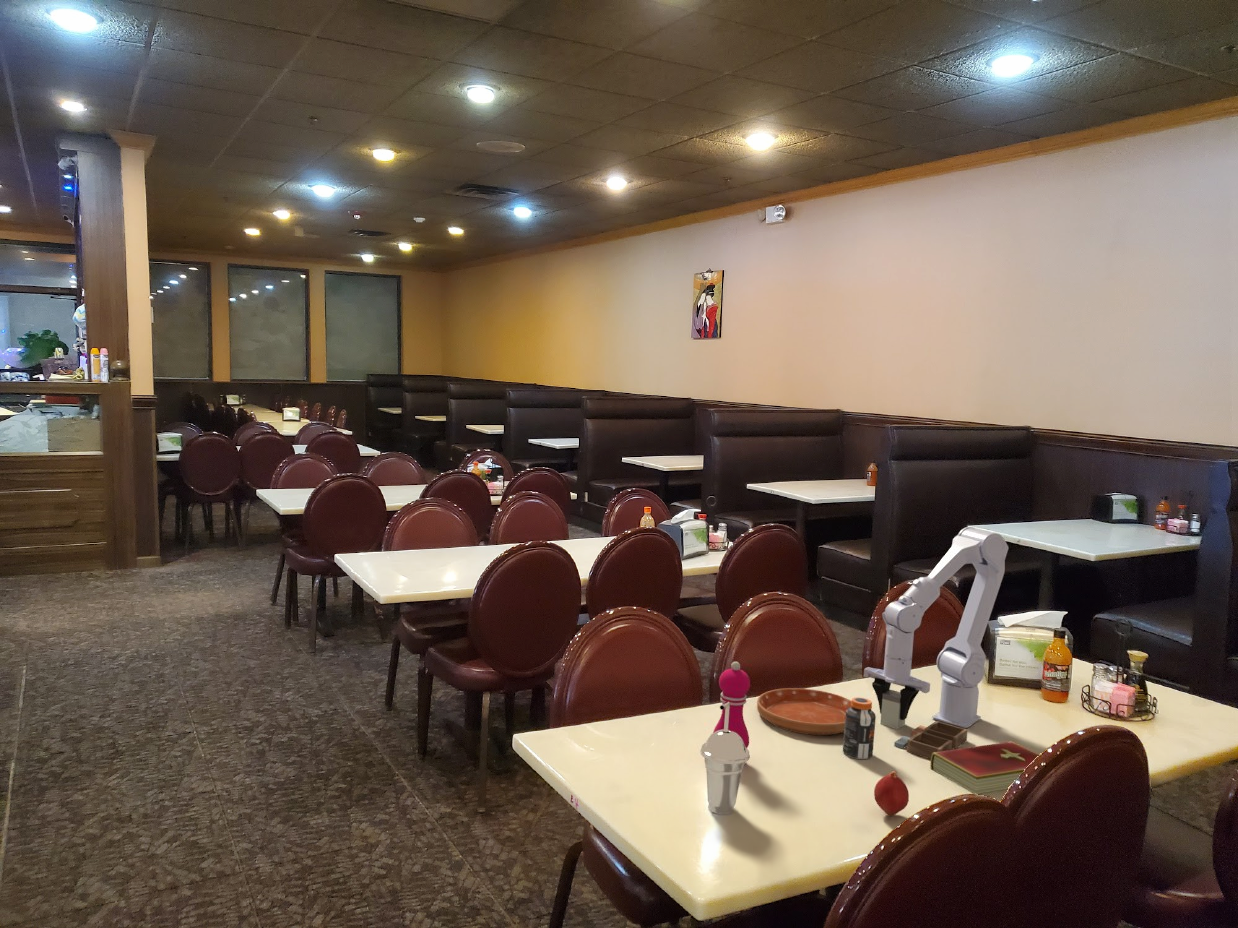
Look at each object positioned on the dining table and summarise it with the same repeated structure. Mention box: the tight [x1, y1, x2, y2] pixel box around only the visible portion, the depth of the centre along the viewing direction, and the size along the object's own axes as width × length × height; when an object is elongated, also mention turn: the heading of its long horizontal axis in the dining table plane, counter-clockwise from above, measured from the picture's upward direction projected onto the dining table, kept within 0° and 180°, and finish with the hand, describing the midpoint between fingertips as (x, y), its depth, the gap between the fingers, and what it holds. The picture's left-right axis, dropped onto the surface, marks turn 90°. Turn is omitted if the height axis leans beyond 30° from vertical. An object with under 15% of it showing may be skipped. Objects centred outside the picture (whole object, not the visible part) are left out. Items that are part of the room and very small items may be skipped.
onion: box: [873, 771, 910, 817], centre depth 156 cm, size 6×6×8 cm
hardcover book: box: [929, 741, 1040, 794], centre depth 176 cm, size 12×21×4 cm, turn 113°
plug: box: [879, 689, 906, 730], centre depth 201 cm, size 4×4×7 cm
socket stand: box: [893, 720, 968, 760], centre depth 190 cm, size 16×10×2 cm, turn 140°
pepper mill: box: [712, 661, 751, 765], centre depth 175 cm, size 7×7×20 cm
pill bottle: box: [842, 696, 877, 760], centre depth 182 cm, size 6×6×11 cm
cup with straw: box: [699, 701, 751, 815], centre depth 155 cm, size 8×9×20 cm
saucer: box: [756, 687, 852, 736], centre depth 201 cm, size 23×23×4 cm
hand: (893, 715), depth 201 cm, fingers open, 4 cm apart
